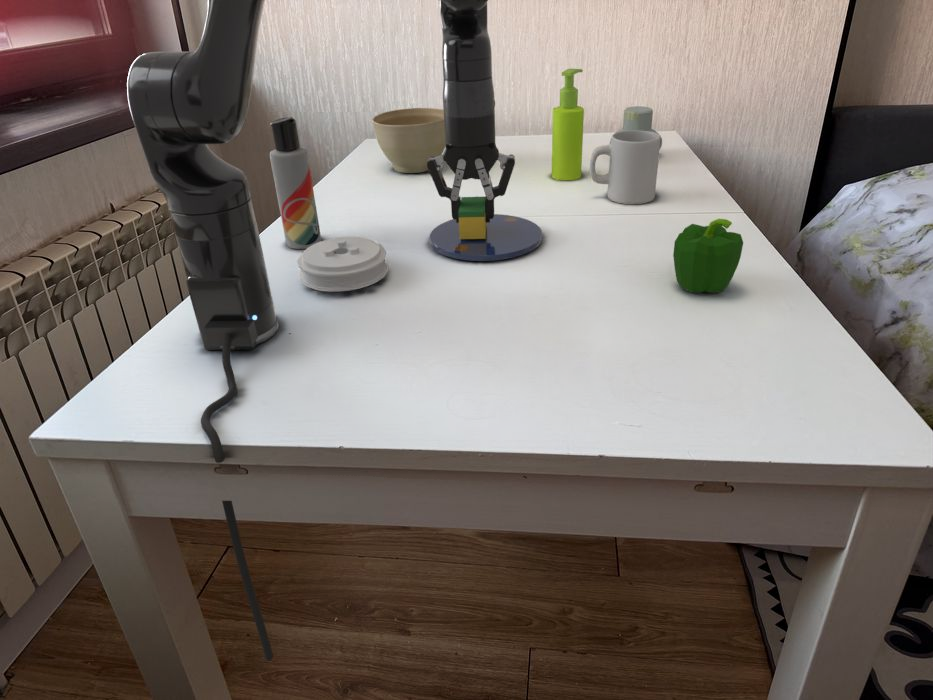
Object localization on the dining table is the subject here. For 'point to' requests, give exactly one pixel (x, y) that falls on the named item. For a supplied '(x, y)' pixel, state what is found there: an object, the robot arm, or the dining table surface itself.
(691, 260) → the bell pepper
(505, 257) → the plate
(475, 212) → the sponge
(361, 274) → the lid
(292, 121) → the lotion bottle
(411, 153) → the planter bowl
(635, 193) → the mug
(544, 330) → the dining table surface
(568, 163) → the soap dispenser
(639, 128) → the air freshener
